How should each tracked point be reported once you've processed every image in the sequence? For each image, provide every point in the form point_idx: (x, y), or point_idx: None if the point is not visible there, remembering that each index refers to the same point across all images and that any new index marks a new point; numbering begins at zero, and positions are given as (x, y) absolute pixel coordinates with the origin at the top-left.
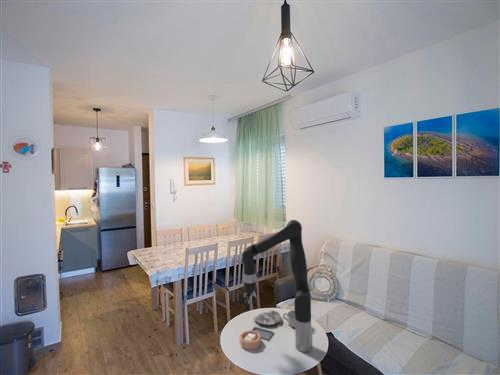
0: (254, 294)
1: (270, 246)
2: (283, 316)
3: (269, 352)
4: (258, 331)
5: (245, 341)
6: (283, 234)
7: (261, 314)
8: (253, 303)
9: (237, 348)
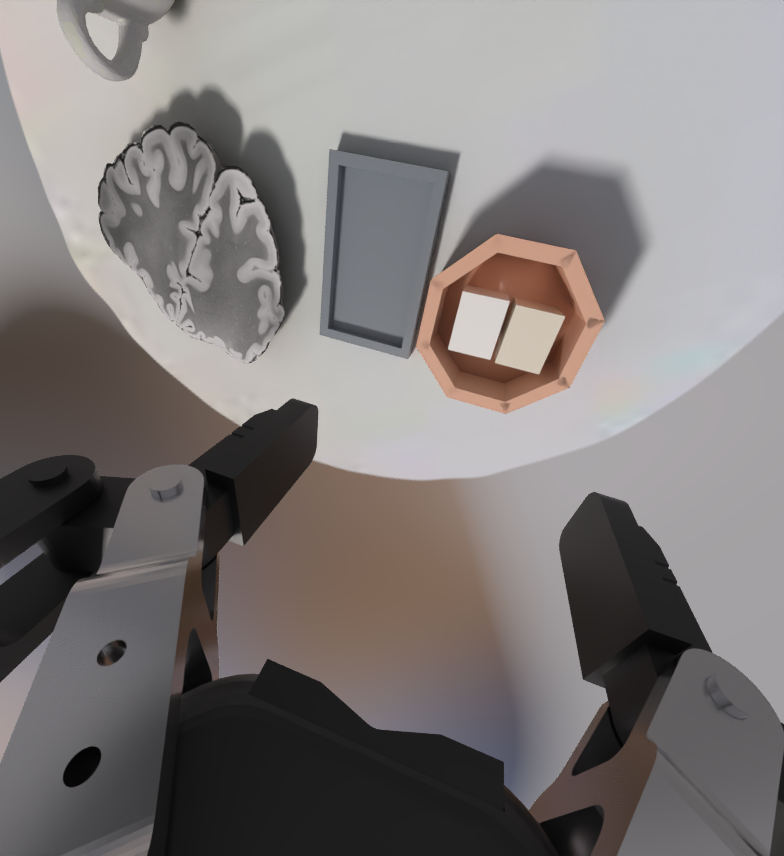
0: (162, 691)
1: None
2: (121, 69)
3: (617, 102)
4: (355, 294)
5: (581, 353)
6: None
7: (190, 317)
8: (314, 436)
9: (563, 392)
